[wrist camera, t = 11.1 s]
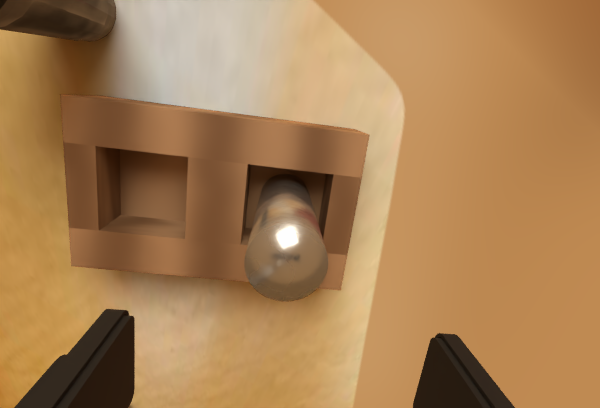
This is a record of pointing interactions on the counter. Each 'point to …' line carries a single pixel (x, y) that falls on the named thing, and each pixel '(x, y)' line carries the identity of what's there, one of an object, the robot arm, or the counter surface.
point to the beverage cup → (59, 18)
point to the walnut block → (195, 184)
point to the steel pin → (285, 242)
